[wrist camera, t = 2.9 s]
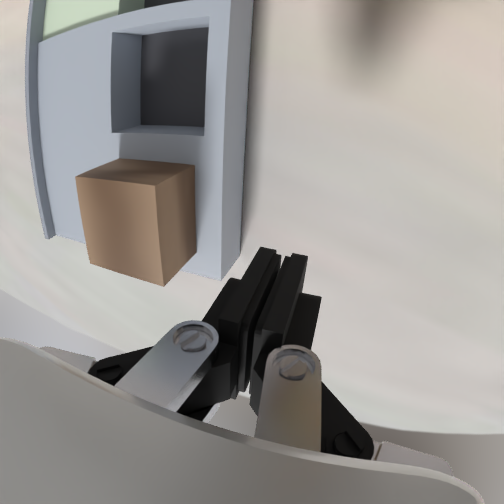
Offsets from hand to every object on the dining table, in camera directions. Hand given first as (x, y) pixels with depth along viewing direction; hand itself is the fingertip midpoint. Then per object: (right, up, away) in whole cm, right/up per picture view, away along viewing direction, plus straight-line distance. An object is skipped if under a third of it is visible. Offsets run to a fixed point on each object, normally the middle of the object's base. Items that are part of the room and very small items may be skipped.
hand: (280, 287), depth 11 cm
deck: (-8, +12, +6) cm, 16 cm away
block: (-6, +4, +6) cm, 9 cm away
